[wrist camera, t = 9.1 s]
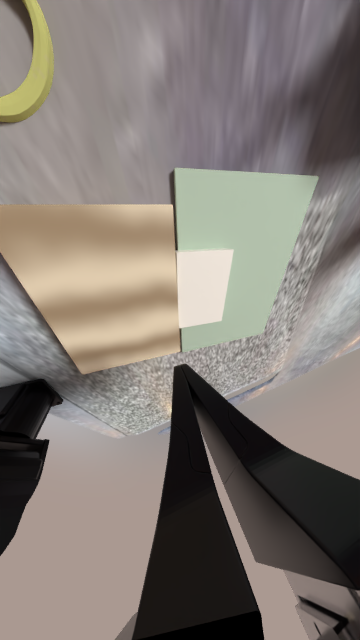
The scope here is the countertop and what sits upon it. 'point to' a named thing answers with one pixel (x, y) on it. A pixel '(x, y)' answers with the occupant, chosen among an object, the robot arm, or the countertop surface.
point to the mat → (241, 240)
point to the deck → (98, 277)
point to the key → (32, 73)
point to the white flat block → (202, 284)
